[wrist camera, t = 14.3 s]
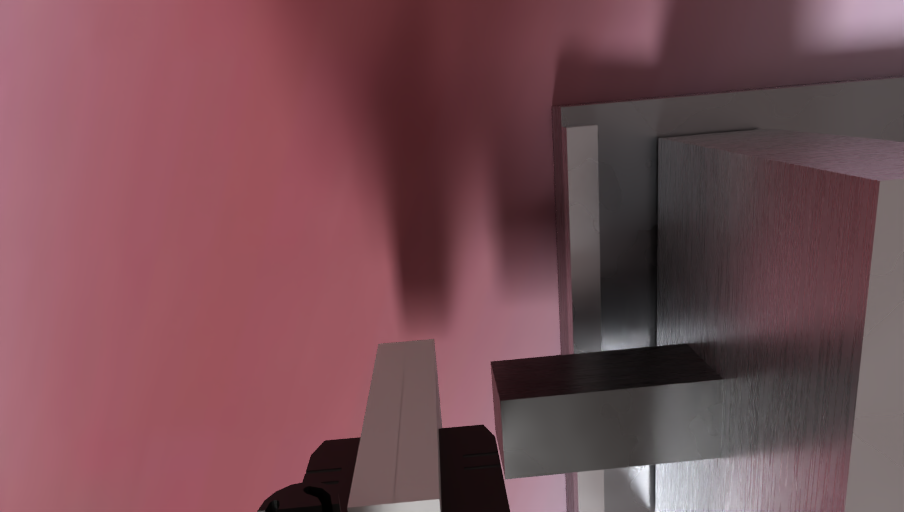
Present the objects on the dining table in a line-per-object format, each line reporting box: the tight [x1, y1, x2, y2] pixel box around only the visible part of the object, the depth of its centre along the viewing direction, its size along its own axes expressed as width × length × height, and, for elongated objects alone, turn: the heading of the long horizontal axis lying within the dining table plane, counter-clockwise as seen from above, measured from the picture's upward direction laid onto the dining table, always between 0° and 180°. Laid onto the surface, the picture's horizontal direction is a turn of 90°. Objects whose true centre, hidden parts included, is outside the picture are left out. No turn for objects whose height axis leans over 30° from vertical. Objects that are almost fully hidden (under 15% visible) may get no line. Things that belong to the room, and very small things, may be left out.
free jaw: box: [491, 128, 904, 512], centre depth 14 cm, size 12×8×8 cm, turn 5°
